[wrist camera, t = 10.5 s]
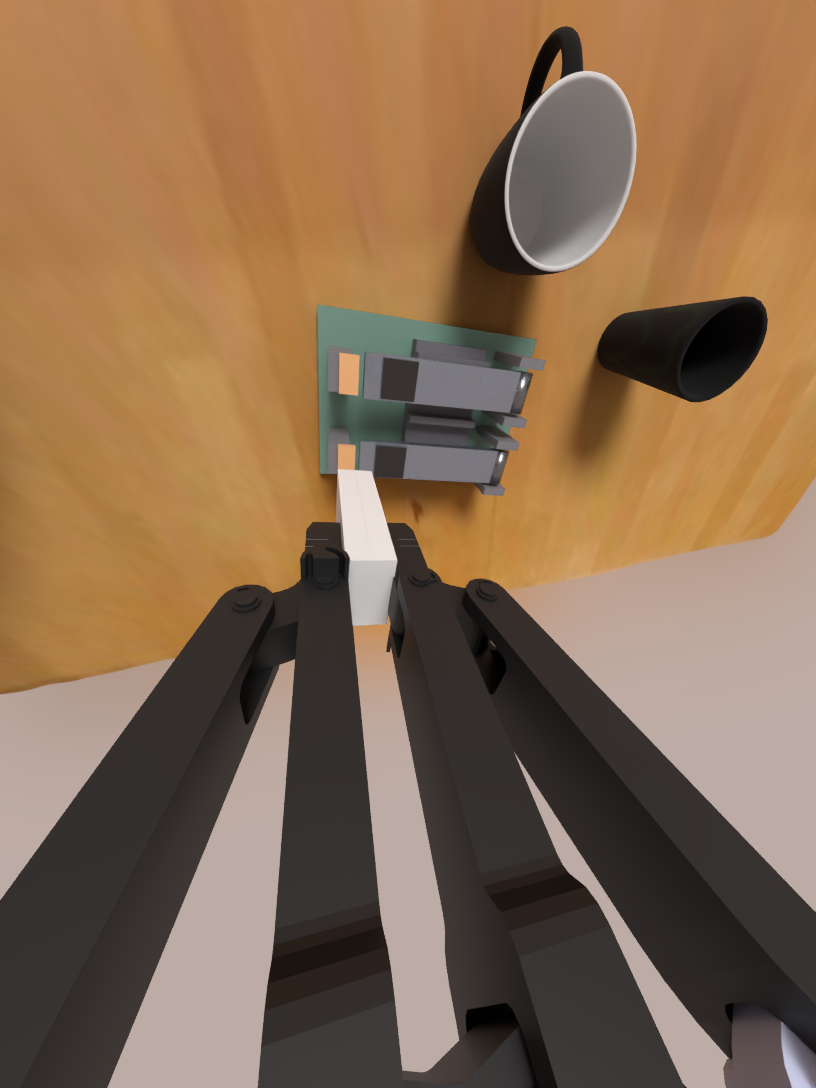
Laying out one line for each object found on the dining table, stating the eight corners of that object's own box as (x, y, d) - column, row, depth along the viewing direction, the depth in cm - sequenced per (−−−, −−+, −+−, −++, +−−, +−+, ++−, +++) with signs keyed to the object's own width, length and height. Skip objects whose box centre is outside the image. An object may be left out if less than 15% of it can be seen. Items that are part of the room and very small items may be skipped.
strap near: (362, 395, 30) (363, 399, 29) (364, 350, 28) (366, 352, 27) (516, 410, 34) (524, 415, 33) (527, 372, 32) (536, 374, 31)
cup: (576, 368, 38) (658, 389, 28) (616, 288, 34) (726, 280, 25) (625, 387, 40) (717, 412, 31) (668, 314, 37) (788, 316, 27)
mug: (542, 280, 33) (611, 270, 25) (454, 284, 32) (496, 275, 23) (572, 82, 26) (683, -24, 18) (461, 78, 25) (524, -36, 16)
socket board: (320, 469, 39) (318, 498, 33) (317, 304, 31) (313, 303, 24) (490, 478, 44) (516, 505, 38) (531, 338, 35) (572, 344, 29)
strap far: (357, 471, 35) (358, 478, 33) (359, 436, 33) (360, 442, 31) (496, 479, 38) (502, 485, 37) (505, 448, 36) (512, 453, 35)
